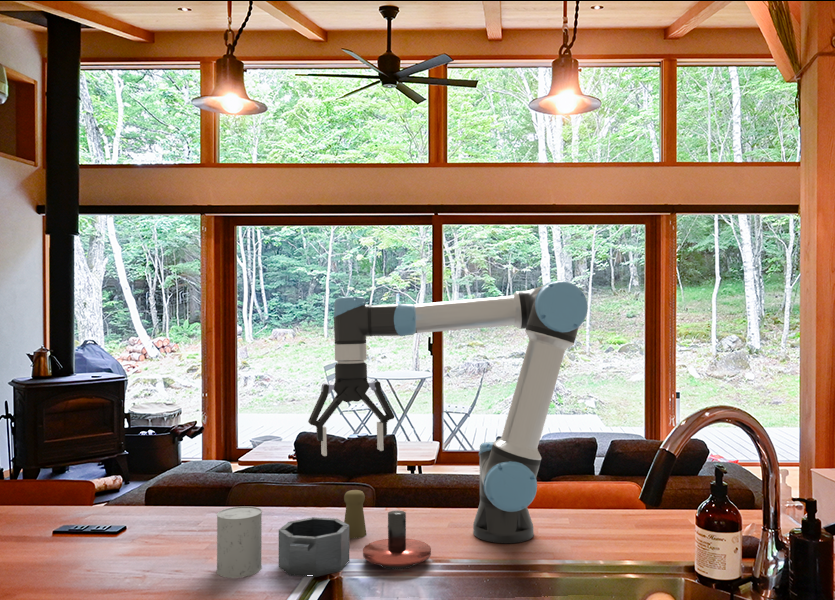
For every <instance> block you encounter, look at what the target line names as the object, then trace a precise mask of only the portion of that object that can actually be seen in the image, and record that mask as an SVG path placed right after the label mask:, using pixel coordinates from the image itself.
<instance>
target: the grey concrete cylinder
mask: <svg viewBox="0 0 835 600" xmlns="http://www.w3.org/2000/svg"><path fill="white" fill-rule="evenodd" d="M262 513H263V510H262V509H261V508H260V507H256V506H245V505H244V506H233V507H228V508H225V509H222V510H219V511H218V512H217V513H216V516H217V517H216V519H217V520H216V528H217V529H216V534H217V535H216V574H217V575H218V576H220V577H222V578H229V579H238V578H239V579H240V578H245V577H246V578H247V577H249V576H253V575H255V574H258V573H259V572H261V570H262V569H263V565H262V543H263V542H262V540H263V539H262V532H263V531H262V529H263V528H262V524H263V523H262V522H263V521H262V519H263V518H262V517H263V516H262Z"/></svg>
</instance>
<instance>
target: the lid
mask: <svg viewBox="0 0 835 600" xmlns="http://www.w3.org/2000/svg"><path fill="white" fill-rule="evenodd" d="M431 556H432V547H431V546H430V545H429V544H428V543H427V542H424V541H422V540H418V539H412V538H407V512H406V511H404V510H390V511H389V512H387V538H384V539H383V538H382V539H378V540H375V541H372V542H369V543H368V544H367V545H365V546H364V547H363V549H362V557H363V559H364V560H365V561H367V562H369V563H371V564H374V565H378V566H380V565H382V566H383V567H382V566H381V567H382V568H384V569H388V570H396V571H397V570H406V569H409V568H411V567H413V566H415V565H417V564H422V563H423V562H425V561H427V560H428V559H430V557H431Z"/></svg>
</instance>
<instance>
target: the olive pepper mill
mask: <svg viewBox="0 0 835 600" xmlns="http://www.w3.org/2000/svg"><path fill="white" fill-rule="evenodd" d="M365 497H366V496H365V493H364V492H363V491H362V490H358V489H352V490H348V491H346V492H345V493H344V496H343V500H344V503H345V505H346V506H345V512H344V521H343V522H344V523H346V524H348V525H349V539H353V540H354V539H361V538H364V537H366V536H367V528H366V519H365V513H364V505H363V504H364V502H365V500H366V498H365Z"/></svg>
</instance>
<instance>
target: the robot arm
mask: <svg viewBox="0 0 835 600" xmlns="http://www.w3.org/2000/svg"><path fill="white" fill-rule="evenodd" d="M333 305H334V307H333V308H334V311H333V334H334V360H335V362H337V363H335V364H334V384H328V383H322V385H321V389H320V394H319V397H318V399H317V400H316V403H315V405H314V407H313V410H312V412H311V414H310V416H309V418H308V421H307V423H309V425H311V426H314V427H315V428H316V440H317V441H318V442H320V445H321V446H320V450H321V455H322V456H323V457H327V456H328V449H327V448H328V447H327V446H328V444H327V436H328V435H327V426H325V424H326V422H328V420H329V419H330V418H331V416H332V415H333V414H334V413H335V411H336V409H337V408H338V407H339V406H340V405H341V404H342V403H343V402H345V403H351V402H355V403H356V402H360V401H362V402H363V403H364V405H366V406H367V407H368V408H369V410H371V412H372V413H373V414H374V415H375V416H376V418H377V419H378V420H379V421H376V442H377V443H376V446H377V447H376V449H377V450H379V452H383V451H384V437H386V436H387V434H388V422H389V421H390V420H394V418H395V415H394V413H393V410H392V409H391V406H390V405H389V403H388V401H387V399H386V397H385V394H384V392H383V391H382V385H381V382H380V381H378V380H373V381H371V382H368V365H367V363H366V362H365V361H366V360H367V359H368V357H367V356H368V354H367V337H405V336H406V337H407V336H413V335H415V334H422V333H434V332H435V333H436V332H437V333H438V332H446V331H447V332H448V331H461V330H472V329H473V330H474V329H487V328H496V327H509V326H510V327H511V326H515V327H516V328H517V329H518V330H523V329H525V334H526V335H527V337H528V340H529V341H528V343H527V346H526V349H525V350H526V351H525V355H524V357H523V361H522V364H521V367H520V368H521V369H520V371H519V374H518V375H519V376H518V379H517V382H516V384H515V388H514V389H515V390H514V392H513V396H512V400H511V403H510V407H509V410H508V414H507V416H506V417H507V418H506V420H505V424H504V427H503V432H502V434H501V436H500V438H498V439H497V440H495V441H488V442H482V443H481V444H480V445H479V451H478V457H479V505H478V508H477V511H476V514H475V518H474V521H473V526H472V528H473V529H472V533H473V535H474V537H476V538H478V539H480V540H482V541H485V542H489V543H496V544H517V543H518V544H519V543H523V542H526V541H529V540H532V539H533V538H534V535H535V534H534V533H535V532H534V531H535V530H534V524H533V521H532V517H531V514H530V512H529V509H528V507H529V506H530V505H531V504H532V502H533V501H534V500H535V498H536V495H537V490H538V489H537V488H538V481H537V476H538V472H539V469H540V465H541V461H542V456H541V454H540V452H539V449H538V447H539V444H540V440H541V437H542V434H543V430H544V428H545V427H544V426H545V423H546V419H547V417H548V412H549V409H550V406H551V401H552V399H553V394H554V391H555V387H556V383H557V380H558V376H559V373H560V370H561V367H562V362H563V359H564V356H565V353H566V350H567V349H569V348H571V347H572V346H574V344H575V341H576V338H577V335H578V331H579V327H580V326H582V324H583V323H584V321H585V319H586V316H587V314H588V309H589V306H588V301H587V297H586V295H585V294H584V292H583V291H582V289H580V287H578V286H577V285H576V284H574V283H572V282H570V281H565V280H553V281H548V282H547V283H545V284H544V285H543V284H542V285H540V286H538V287H535V288H532V289H527V290H526V289H525V290H518V291H517V290H516V291H515V292H514V293H513V294H511V295H505V296H496V297H495V296H493V297H483V298H472V299H460V300H459V299H457V300H448V301H436V302H425V303H413V304H411V303H391V304H389V303H388V304H387V303H386V304H367V302H366V298H365V297H364V296H340V297H337V298H336V299H335V300H334V304H333ZM369 388H370V390H371V391H373V393H374V395H375V396H376V399H377V400H378V402H379V404H380V406H381V408H382V410H383V411H384V413H383V412H382V411H381V410H380V409H379V408H378V406H377V405H376V404H375V403H374V402H373V401H372V400H371V398H370V397H369V396H368V395H367V392H368V391H369ZM332 390H333V391H334V392H335V393H336V395H335V396H334V398H333V399H332V401H331V403H330V404H329V405H328V406H327V408H326V409H325V410H324V412H323V413H322V414H321V412H322V409H323V407H324V405H325V403H326V401H327V398H328V396H329V394H331V393H332V392H333V391H332ZM320 414H321V416H320ZM319 416H320V417H319Z"/></svg>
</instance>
